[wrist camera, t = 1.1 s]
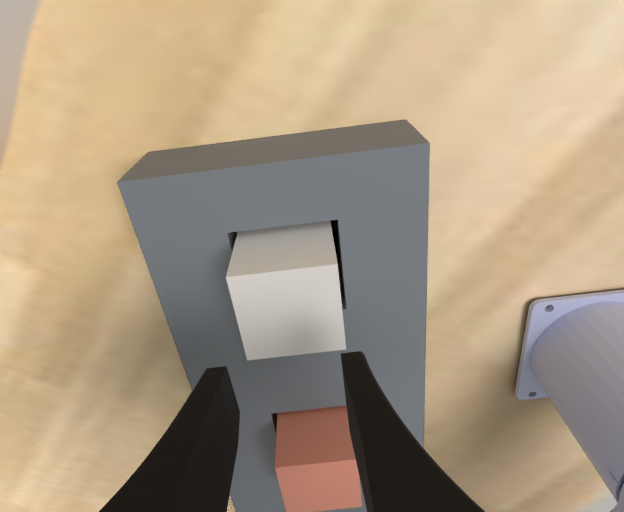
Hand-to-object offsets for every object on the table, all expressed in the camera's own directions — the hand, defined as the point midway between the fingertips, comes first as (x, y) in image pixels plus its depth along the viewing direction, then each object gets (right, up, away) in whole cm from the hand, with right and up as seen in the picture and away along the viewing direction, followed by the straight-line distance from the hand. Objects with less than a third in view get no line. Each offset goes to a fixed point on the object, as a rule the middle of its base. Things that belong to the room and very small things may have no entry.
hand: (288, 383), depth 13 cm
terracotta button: (+1, -6, +12) cm, 13 cm away
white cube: (0, +4, +6) cm, 7 cm away
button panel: (+1, -4, +15) cm, 15 cm away
